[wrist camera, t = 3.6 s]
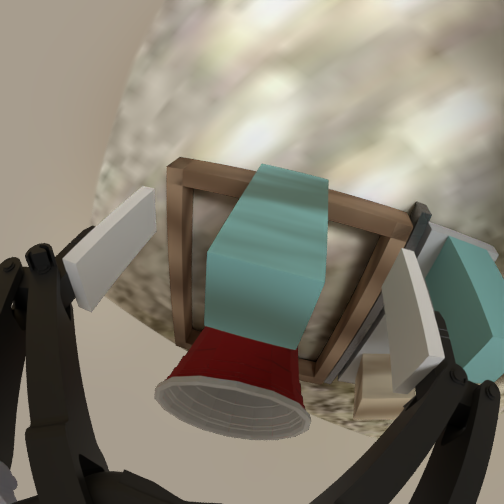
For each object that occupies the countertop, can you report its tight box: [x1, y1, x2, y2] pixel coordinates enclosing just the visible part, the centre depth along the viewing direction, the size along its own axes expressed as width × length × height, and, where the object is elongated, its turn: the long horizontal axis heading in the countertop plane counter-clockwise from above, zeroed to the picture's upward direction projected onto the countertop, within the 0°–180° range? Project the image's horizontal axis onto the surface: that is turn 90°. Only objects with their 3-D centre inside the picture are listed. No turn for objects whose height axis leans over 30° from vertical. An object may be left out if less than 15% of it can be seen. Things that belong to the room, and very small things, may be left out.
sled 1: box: [167, 157, 413, 385], centre depth 21 cm, size 22×16×11 cm
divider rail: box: [324, 202, 432, 384], centre depth 24 cm, size 22×1×2 cm, turn 172°
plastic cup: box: [155, 326, 311, 440], centre depth 22 cm, size 11×11×12 cm
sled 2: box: [338, 222, 504, 384], centre depth 20 cm, size 20×7×10 cm, turn 172°
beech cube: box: [353, 353, 415, 420], centre depth 25 cm, size 5×5×5 cm
